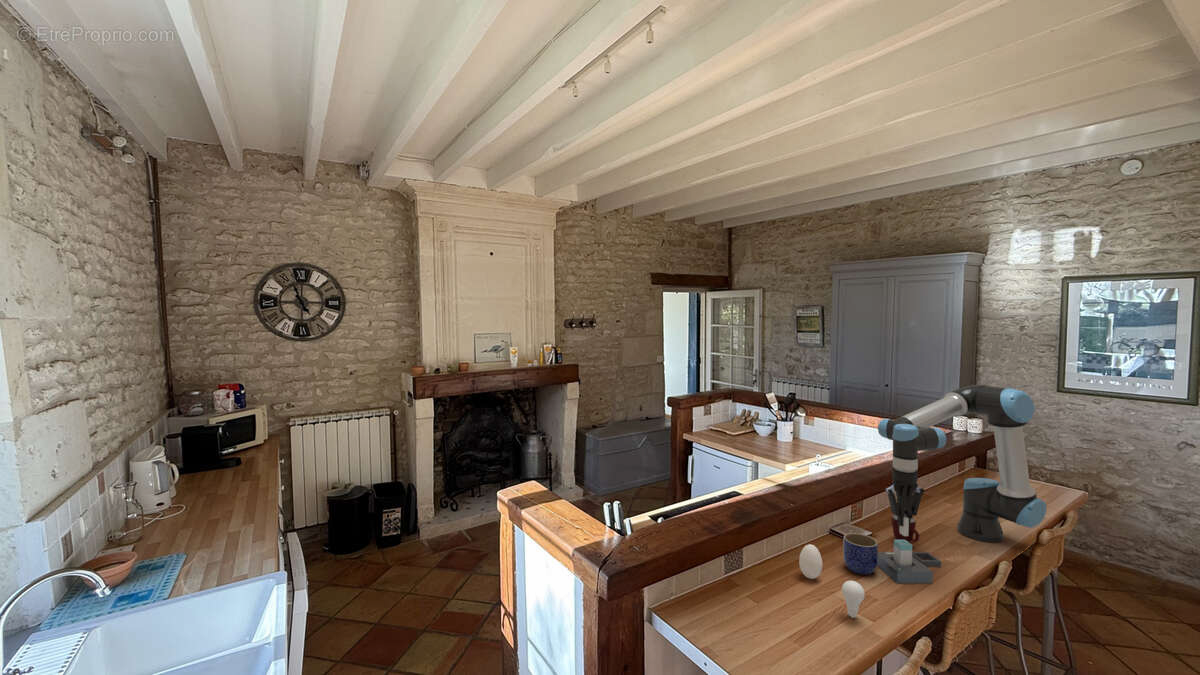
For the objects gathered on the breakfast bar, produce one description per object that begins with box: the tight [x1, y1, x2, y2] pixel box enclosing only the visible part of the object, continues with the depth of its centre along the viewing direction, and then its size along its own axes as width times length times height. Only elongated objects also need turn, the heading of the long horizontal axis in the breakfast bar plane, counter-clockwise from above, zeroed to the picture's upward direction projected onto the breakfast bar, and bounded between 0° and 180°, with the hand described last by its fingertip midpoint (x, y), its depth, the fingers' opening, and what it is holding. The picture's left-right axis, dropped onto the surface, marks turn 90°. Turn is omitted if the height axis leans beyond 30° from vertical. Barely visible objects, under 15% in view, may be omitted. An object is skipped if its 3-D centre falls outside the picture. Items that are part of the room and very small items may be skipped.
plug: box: [893, 539, 913, 566], centre depth 172 cm, size 4×4×11 cm
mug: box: [891, 514, 920, 544], centre depth 193 cm, size 10×8×10 cm
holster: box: [912, 551, 942, 568], centre depth 179 cm, size 7×7×2 cm
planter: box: [842, 532, 879, 576], centre depth 174 cm, size 11×11×11 cm
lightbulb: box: [841, 580, 866, 619], centre depth 147 cm, size 6×6×11 cm
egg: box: [798, 543, 823, 580], centre depth 169 cm, size 7×7×12 cm
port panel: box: [876, 551, 934, 585], centre depth 172 cm, size 12×14×4 cm
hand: (903, 534), depth 172 cm, fingers closed
